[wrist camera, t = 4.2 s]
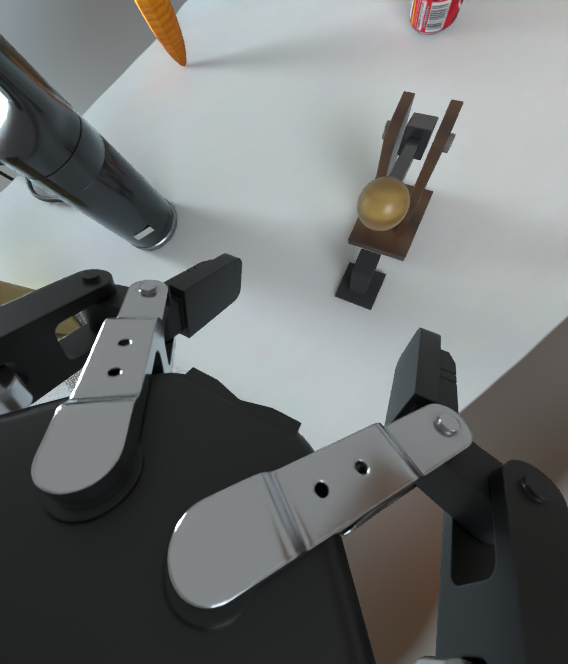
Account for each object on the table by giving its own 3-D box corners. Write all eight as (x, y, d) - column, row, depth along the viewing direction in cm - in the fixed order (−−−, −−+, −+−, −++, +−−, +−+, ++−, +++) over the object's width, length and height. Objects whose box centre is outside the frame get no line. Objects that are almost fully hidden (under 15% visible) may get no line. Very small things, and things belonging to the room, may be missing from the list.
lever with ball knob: (392, 247, 20) (411, 202, 17) (346, 232, 21) (356, 187, 18) (431, 154, 26) (450, 110, 23) (394, 146, 27) (408, 102, 24)
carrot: (171, 60, 50) (103, -67, 36) (195, 50, 49) (135, -84, 35) (174, 81, 49) (106, -40, 35) (199, 71, 49) (139, -58, 34)
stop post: (335, 296, 38) (334, 276, 30) (349, 263, 38) (353, 234, 30) (370, 310, 37) (380, 292, 29) (385, 275, 37) (399, 248, 29)
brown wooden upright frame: (403, 261, 37) (450, 182, 21) (347, 243, 39) (355, 159, 23) (430, 196, 37) (495, 75, 22) (374, 182, 39) (399, 60, 24)
